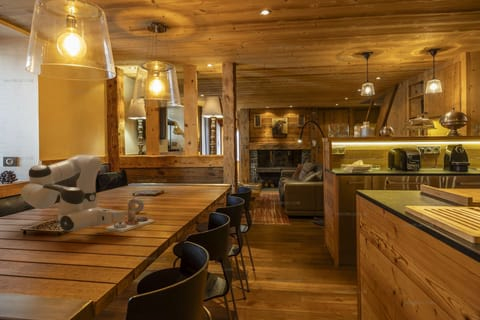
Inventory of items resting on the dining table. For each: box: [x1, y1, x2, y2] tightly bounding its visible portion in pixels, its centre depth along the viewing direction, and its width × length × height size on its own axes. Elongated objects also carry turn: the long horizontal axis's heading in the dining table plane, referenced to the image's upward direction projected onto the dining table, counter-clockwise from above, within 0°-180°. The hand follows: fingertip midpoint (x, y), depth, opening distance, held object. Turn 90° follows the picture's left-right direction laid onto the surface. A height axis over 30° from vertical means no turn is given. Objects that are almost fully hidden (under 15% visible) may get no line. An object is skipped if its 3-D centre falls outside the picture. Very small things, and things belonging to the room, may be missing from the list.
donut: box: [134, 197, 145, 214], centre depth 196 cm, size 10×4×10 cm, turn 104°
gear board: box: [105, 215, 156, 233], centre depth 165 cm, size 12×24×4 cm, turn 154°
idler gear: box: [124, 198, 138, 225], centre depth 164 cm, size 7×7×14 cm
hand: (119, 211), depth 156 cm, fingers open, 8 cm apart
